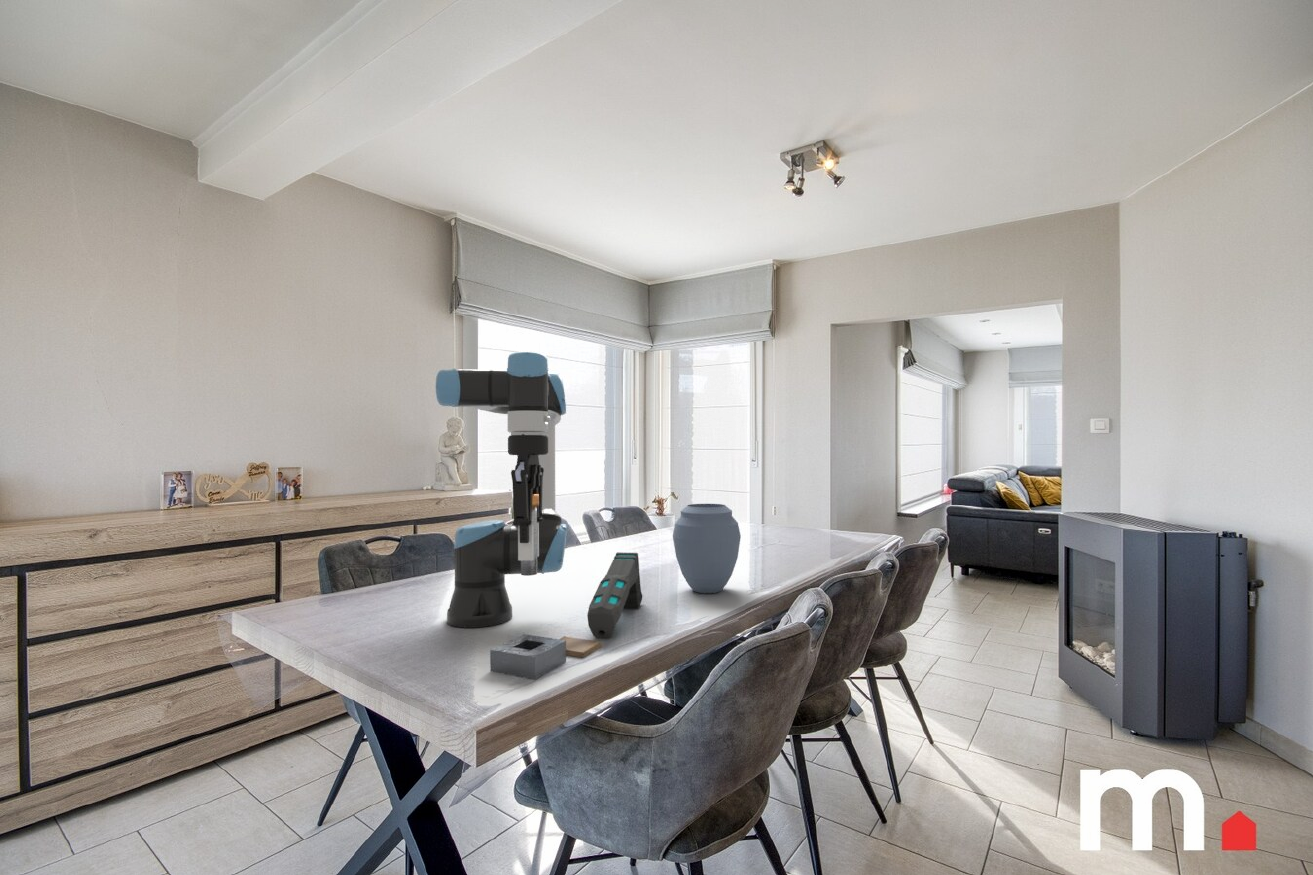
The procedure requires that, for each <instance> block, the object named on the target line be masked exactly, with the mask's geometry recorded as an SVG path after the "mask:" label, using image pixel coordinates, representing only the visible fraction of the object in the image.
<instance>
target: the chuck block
mask: <svg viewBox="0 0 1313 875" xmlns="http://www.w3.org/2000/svg"><path fill="white" fill-rule="evenodd" d="M489 651H490V652H489V654H490V661H489V662H490V666H489V668H490V669H489V670H490V672H491V673H496V674H501V675H502V674H503V675H507V676H513V677H517V678H523V679H528V680H534V681H536V680H538V679H539V678H541V677H543V676H544V675H546V674H547V673H549V672H550V671H553V670H554V669H555V668H557V667H559V666H561V665H562V664H564V663H566V662H567V655H566V640H560V638H559V639H558V638H552V637H545V636H537V635H532V634H525V633H523V634H521V635H519V636H517V637H515V638H512V639H510V640H508V641H507V642H504V643H501V644H500V645H497V646H495V647H493V648H491V649H490V650H489Z"/></svg>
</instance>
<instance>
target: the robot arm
mask: <svg viewBox="0 0 1313 875" xmlns="http://www.w3.org/2000/svg"><path fill="white" fill-rule="evenodd" d="M548 365H549V364H548V357H547V356H546V354H544V353H541V352H535V351H515V352H512V353H511V354H509V355H508V357H507V368H506V369H463V368H461V369H458V368H452V369H451V368H450V369H441V370H439V371H438V372H437V373H436V374H437V375H436V377H435V378H436V379H435V396H436V400H437V402H438V404H439V405H440V406H441V407H453V408H454V407H455V408H456V407H459V408H460V407H463V408H464V407H467V408H468V407H474V408H475V409H477V410H480V411H486V412H489V413H494V414H500V415H501V414H502V415H507V432H508V433H510V435H509V436H508V437H507V454H508V455H509V456H517V458H516V465H515V467H514V469H511V472H510V475H511V481H512V500H513V501H512V502H513V503H512V505H513V506H512V507H513V508H512V509H513V510H512V511H513V521H512V525H506V523H505V520H503V519H498V520H497V519H494V520H493V519H491V520H484V521H478V522H474V523H469V524H466V525H462V526H461V527H458V529H457V530H456V531H455V533H454V545H453V549H454V590H453V593H452V597H451V600H450V604H449V606H448V607H449V608H448V609H447V611H446V623H447V624H448V625H450V626H452V627H457V628H466V629H467V628H469V629H470V628H473V629H474V628H483V627H491V626H495V625H500V624H503V623H505V622H507V621H510V620H511V619H512V617H513V606H512V604H511V602H510V598H509V595H508V590H507V589H506V581H505V580H506V578H505V577H506V575H521V560H534V549H533V525H531V523H532V495H533V494H539V505H537V574H543V575H544V574H545V573H547V574H548V573H556V572H558V571H559V572H560V570H561V569H562V567H563V566H564V557H565V551H566V543H567V542H566V541H567V535H568V534H567V533H568V525H567V524H565V523H562V516H561V515H560V514H558V513H557V511H556V425H558V424H559V423H560V422H561V420H562V416H563V415H565V414H566V413H567V404H566V394H565V386H564V381H563V378H562V376H561V374H560V373H558V372H554V371H549V367H548Z"/></svg>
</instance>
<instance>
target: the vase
mask: <svg viewBox="0 0 1313 875" xmlns="http://www.w3.org/2000/svg"><path fill="white" fill-rule="evenodd" d="M741 536H742V535H741V531H740V526H739V523H738V521H737V520H736V519H735V517H734V516H733V510H732V509H731V508H729V507H728V506H726V504H721V503H693V504H688V505H686V506H684V508H682V509H681V510H680V517H679V518H678V519H677V520H676V521H675V523H674V528H673V534H672V540H673V546H674V554H675V557H676V560H677V564H678V566H679V569H680V571H681V574H682V576H683V578H684V579H685V582H686V583H687V585H688V586H689V587H690V588H691V590H692V591H695V592H696V593H698V594H710V595H711V594H717V593H719V592H721V591H723V589H725V587H726V585H727V584H728V583H729V580H730V579H731V577H732V575H733V573H734V571H735V567H736V565H737V561H738V558H739V551H740V545H741Z"/></svg>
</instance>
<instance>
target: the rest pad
mask: <svg viewBox="0 0 1313 875" xmlns="http://www.w3.org/2000/svg"><path fill="white" fill-rule="evenodd" d="M559 639H560V640H566V656H570V657H575V658H585V657H587V656H588V655H590V654H592V653H594V652H595V651H596V650H598V649H600V648H602V641H598V640H591V639H584V638H577V637H570V636H566V635H565V636H562V637H560V638H559Z"/></svg>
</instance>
